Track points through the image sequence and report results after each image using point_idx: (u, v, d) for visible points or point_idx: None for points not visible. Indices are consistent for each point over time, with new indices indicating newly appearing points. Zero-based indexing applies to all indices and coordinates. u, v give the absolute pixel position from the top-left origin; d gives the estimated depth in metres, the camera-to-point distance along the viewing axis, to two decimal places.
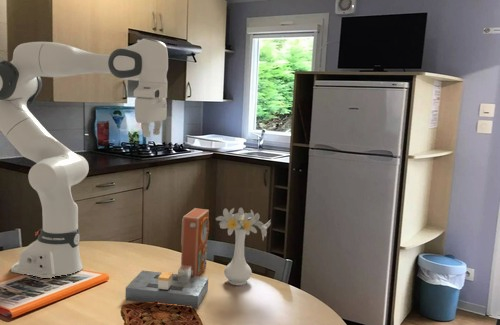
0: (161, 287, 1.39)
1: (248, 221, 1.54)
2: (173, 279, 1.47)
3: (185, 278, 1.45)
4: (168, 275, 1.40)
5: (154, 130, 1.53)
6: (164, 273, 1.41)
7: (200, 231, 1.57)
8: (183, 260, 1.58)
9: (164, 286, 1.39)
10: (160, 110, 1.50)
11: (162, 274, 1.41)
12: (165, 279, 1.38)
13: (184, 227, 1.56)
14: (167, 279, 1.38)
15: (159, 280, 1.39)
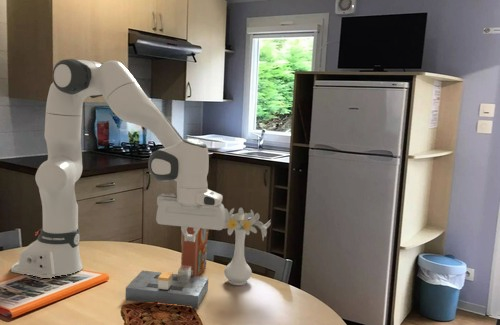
0: (161, 287, 1.39)
1: (248, 221, 1.54)
2: (173, 279, 1.47)
3: (185, 278, 1.45)
4: (168, 275, 1.40)
5: None
6: (164, 273, 1.41)
7: (200, 231, 1.57)
8: (183, 260, 1.58)
9: (164, 286, 1.39)
10: None
11: (162, 274, 1.41)
12: (165, 279, 1.38)
13: None
14: (167, 279, 1.38)
15: (159, 280, 1.39)
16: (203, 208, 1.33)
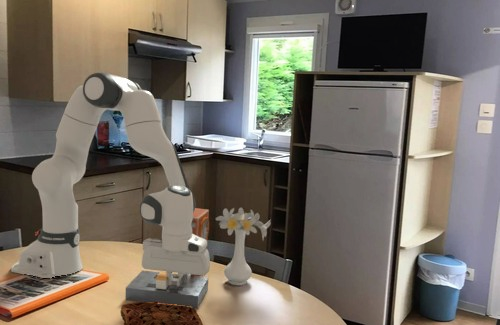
0: (159, 287, 1.39)
1: (248, 221, 1.54)
2: None
3: (185, 278, 1.45)
4: (166, 275, 1.40)
5: None
6: (162, 273, 1.42)
7: (200, 231, 1.57)
8: None
9: (161, 286, 1.39)
10: None
11: (160, 274, 1.41)
12: (163, 279, 1.38)
13: None
14: (165, 279, 1.38)
15: (156, 280, 1.39)
16: (187, 254, 1.36)
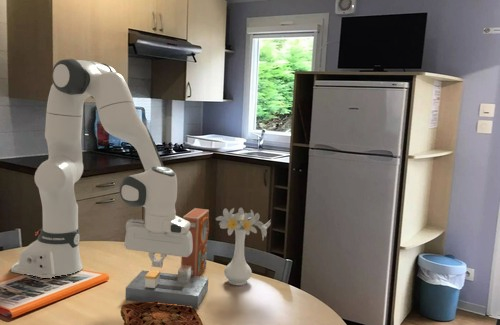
0: (148, 286, 1.39)
1: (248, 221, 1.54)
2: (173, 279, 1.47)
3: (185, 278, 1.45)
4: (155, 274, 1.41)
5: None
6: (151, 272, 1.42)
7: (200, 231, 1.57)
8: (183, 260, 1.58)
9: (150, 285, 1.39)
10: None
11: (149, 273, 1.41)
12: (152, 278, 1.39)
13: None
14: (154, 278, 1.39)
15: (146, 279, 1.39)
16: (170, 235, 1.36)
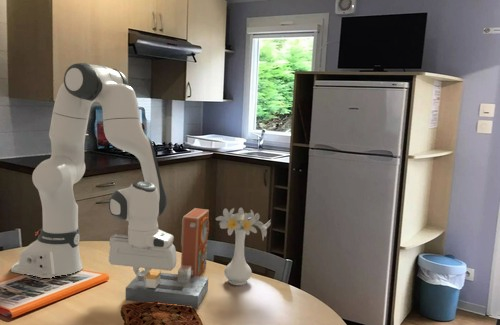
0: (149, 286, 1.39)
1: (248, 221, 1.54)
2: (173, 279, 1.47)
3: (185, 278, 1.45)
4: (156, 274, 1.41)
5: None
6: (152, 272, 1.42)
7: (200, 231, 1.57)
8: (183, 260, 1.58)
9: (151, 285, 1.39)
10: None
11: (150, 273, 1.41)
12: (153, 278, 1.39)
13: (184, 227, 1.56)
14: (155, 278, 1.39)
15: (146, 279, 1.39)
16: (153, 249, 1.37)
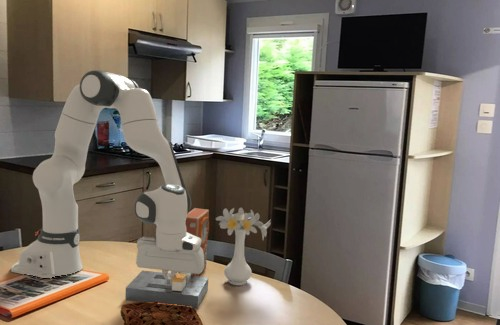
0: (175, 289, 1.38)
1: (248, 221, 1.54)
2: None
3: None
4: (182, 277, 1.40)
5: None
6: (178, 274, 1.41)
7: (200, 231, 1.57)
8: None
9: (177, 288, 1.38)
10: None
11: (176, 276, 1.40)
12: (179, 281, 1.38)
13: None
14: (181, 281, 1.38)
15: (172, 282, 1.38)
16: (182, 253, 1.36)
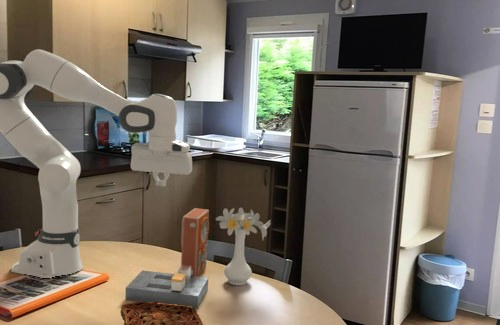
0: (174, 289, 1.38)
1: (248, 221, 1.54)
2: None
3: (185, 278, 1.45)
4: (181, 276, 1.40)
5: None
6: (177, 274, 1.41)
7: (200, 231, 1.57)
8: (183, 260, 1.58)
9: (177, 288, 1.38)
10: None
11: (175, 275, 1.40)
12: (178, 280, 1.38)
13: (184, 227, 1.56)
14: (180, 280, 1.38)
15: (172, 282, 1.38)
16: (171, 155, 1.51)
